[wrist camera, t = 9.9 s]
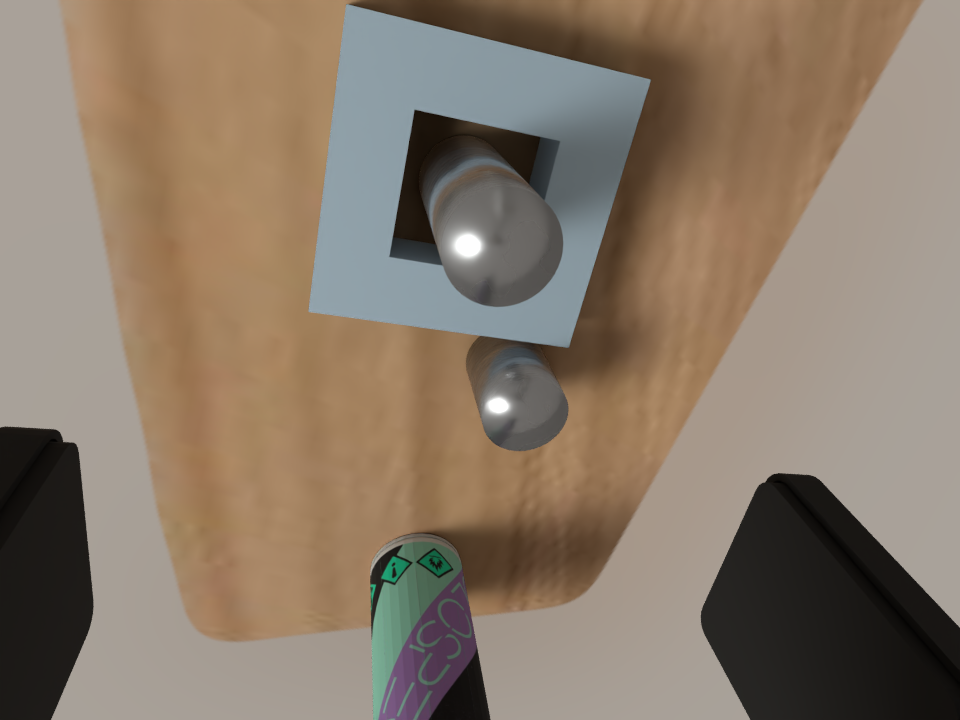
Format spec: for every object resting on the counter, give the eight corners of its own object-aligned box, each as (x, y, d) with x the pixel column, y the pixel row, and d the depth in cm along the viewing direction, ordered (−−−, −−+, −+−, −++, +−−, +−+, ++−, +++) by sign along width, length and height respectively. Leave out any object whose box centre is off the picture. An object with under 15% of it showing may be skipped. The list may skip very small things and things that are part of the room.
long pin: (427, 126, 29) (455, 175, 20) (515, 145, 30) (577, 200, 21) (411, 216, 31) (430, 297, 22) (495, 231, 32) (545, 315, 23)
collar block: (347, 4, 27) (346, 4, 24) (624, 73, 30) (650, 79, 27) (312, 286, 32) (308, 311, 29) (552, 321, 35) (568, 347, 32)
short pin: (495, 313, 34) (517, 364, 29) (556, 348, 35) (585, 401, 31) (450, 373, 35) (465, 430, 31) (511, 404, 37) (533, 462, 32)
